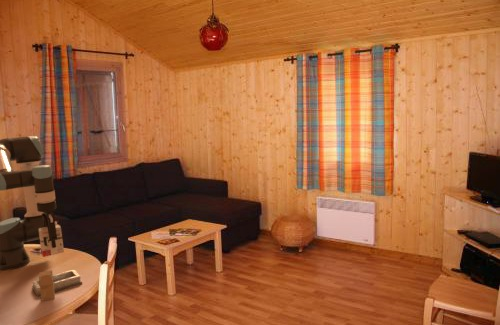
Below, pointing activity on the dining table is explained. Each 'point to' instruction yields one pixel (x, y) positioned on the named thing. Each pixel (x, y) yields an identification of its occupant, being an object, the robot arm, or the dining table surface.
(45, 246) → the ink box
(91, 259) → the dining table surface
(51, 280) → the box
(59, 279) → the rail plate
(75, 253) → the dining table surface
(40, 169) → the robot arm
